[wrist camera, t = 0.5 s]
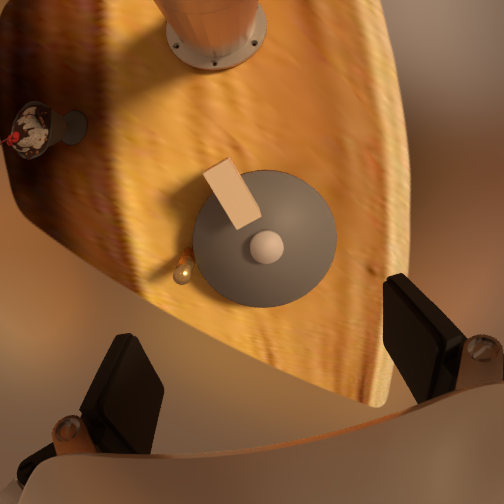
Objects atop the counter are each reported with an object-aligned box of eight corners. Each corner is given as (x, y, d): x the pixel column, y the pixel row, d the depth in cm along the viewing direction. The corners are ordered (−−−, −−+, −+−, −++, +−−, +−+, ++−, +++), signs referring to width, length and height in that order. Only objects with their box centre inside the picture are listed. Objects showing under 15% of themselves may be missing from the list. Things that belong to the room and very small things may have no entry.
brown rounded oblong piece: (179, 206, 39) (168, 221, 32) (295, 206, 39) (306, 221, 33) (183, 263, 42) (173, 287, 35) (291, 263, 42) (300, 286, 36)
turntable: (191, 156, 35) (183, 159, 29) (339, 159, 35) (355, 164, 30) (198, 301, 42) (193, 324, 37) (325, 300, 43) (335, 321, 37)
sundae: (51, 149, 34) (-18, 164, 21) (59, 104, 32) (-11, 100, 18) (88, 154, 35) (21, 169, 21) (96, 106, 33) (30, 98, 19)
